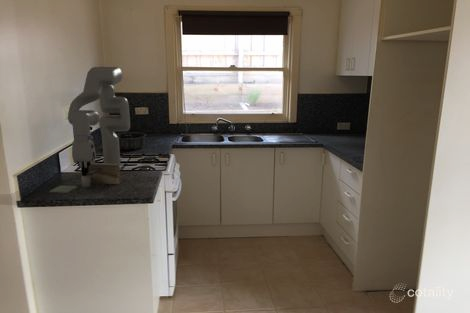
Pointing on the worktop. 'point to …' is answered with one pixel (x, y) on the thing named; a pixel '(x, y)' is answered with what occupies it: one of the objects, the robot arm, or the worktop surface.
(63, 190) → the mat
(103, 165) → the stand
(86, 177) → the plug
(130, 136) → the bundt pan
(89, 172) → the strap
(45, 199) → the worktop surface
